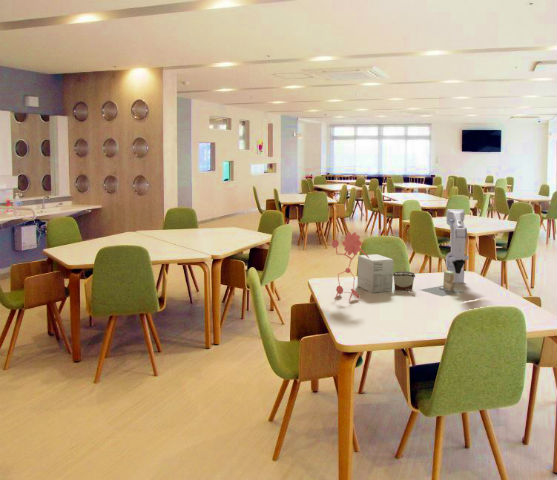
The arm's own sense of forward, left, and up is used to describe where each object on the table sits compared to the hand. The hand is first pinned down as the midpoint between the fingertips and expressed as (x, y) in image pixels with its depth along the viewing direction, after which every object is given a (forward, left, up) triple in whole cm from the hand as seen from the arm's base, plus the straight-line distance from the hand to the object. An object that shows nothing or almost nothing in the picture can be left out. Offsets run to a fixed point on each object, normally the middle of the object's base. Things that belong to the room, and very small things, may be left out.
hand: (457, 273), depth 331 cm
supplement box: (+38, -26, -10) cm, 47 cm away
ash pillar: (+7, 0, -8) cm, 11 cm away
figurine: (+61, -19, -10) cm, 65 cm away
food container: (+26, -16, -10) cm, 32 cm away
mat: (+12, 0, -10) cm, 15 cm away
